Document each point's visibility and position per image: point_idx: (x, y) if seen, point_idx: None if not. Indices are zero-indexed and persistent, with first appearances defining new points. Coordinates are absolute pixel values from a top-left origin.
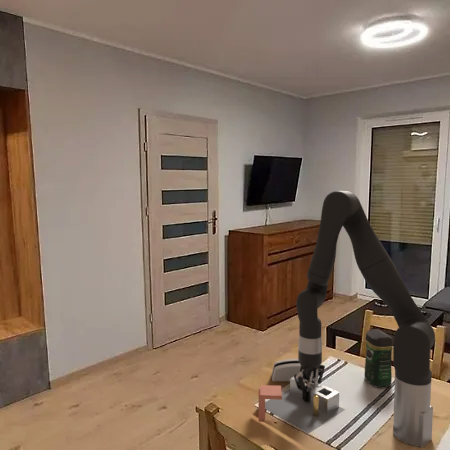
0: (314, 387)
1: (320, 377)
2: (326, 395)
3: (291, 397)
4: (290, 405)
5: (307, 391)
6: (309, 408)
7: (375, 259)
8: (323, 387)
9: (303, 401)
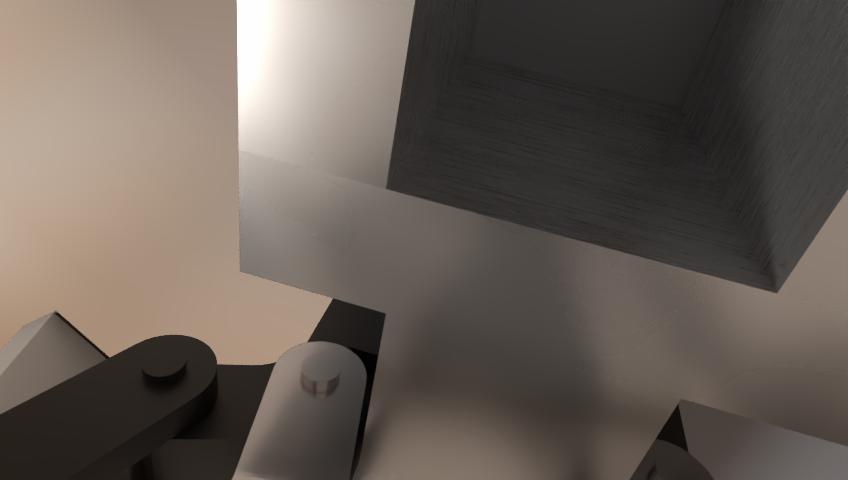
0: (536, 417)
1: (66, 464)
2: (448, 26)
3: None
4: (842, 452)
5: (693, 463)
6: None
7: None
8: (359, 212)
9: None
